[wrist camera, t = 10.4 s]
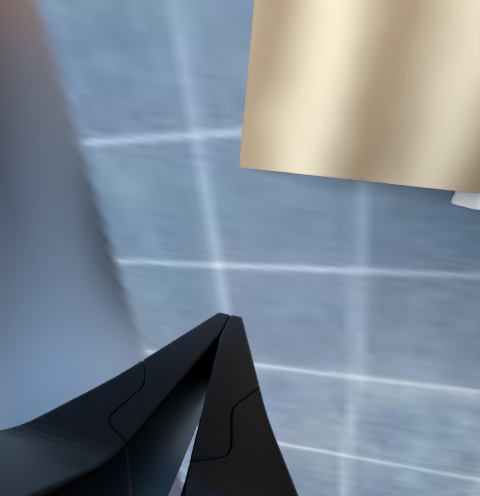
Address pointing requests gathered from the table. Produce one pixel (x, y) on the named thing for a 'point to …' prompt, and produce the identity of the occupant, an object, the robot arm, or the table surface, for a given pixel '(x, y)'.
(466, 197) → the tray
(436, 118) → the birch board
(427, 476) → the table surface
